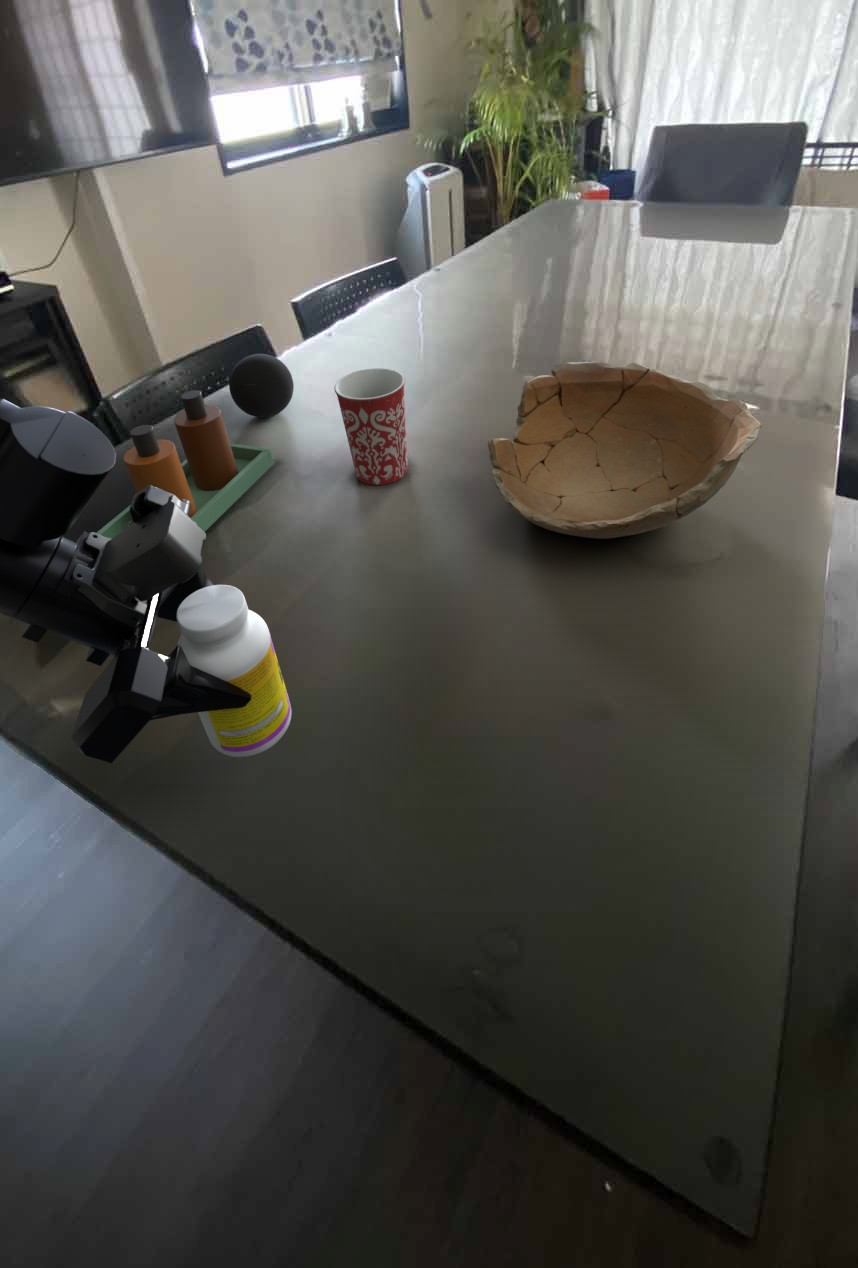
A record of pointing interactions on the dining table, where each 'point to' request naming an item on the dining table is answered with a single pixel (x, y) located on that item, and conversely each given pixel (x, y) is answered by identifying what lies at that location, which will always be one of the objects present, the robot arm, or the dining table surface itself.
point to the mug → (375, 423)
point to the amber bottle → (156, 465)
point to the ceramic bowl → (617, 449)
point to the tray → (216, 502)
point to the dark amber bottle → (205, 443)
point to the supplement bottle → (235, 668)
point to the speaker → (261, 385)
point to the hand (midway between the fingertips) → (250, 664)
